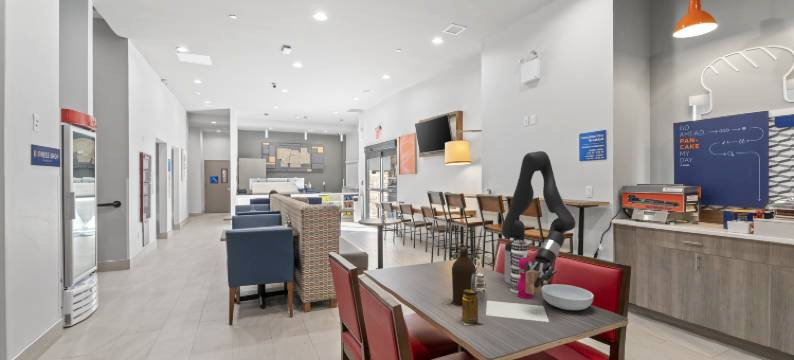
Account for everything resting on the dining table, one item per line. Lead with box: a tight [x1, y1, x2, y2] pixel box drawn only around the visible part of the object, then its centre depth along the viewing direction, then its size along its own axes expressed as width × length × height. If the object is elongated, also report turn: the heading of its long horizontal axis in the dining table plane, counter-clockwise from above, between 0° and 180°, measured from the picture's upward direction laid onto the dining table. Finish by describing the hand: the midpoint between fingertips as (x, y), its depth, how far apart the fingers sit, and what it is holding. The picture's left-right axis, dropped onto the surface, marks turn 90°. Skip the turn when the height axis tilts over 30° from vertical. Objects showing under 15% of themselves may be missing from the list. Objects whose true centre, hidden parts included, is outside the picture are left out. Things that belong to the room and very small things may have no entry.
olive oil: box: [451, 246, 477, 307], centre depth 162 cm, size 11×11×25 cm
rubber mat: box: [485, 300, 550, 323], centre depth 153 cm, size 18×24×1 cm
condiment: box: [460, 289, 483, 326], centre depth 142 cm, size 7×8×12 cm
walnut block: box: [526, 270, 542, 296], centre depth 151 cm, size 4×5×9 cm
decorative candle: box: [509, 239, 530, 294], centre depth 181 cm, size 9×9×25 cm
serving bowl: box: [541, 283, 595, 311], centre depth 160 cm, size 21×21×7 cm
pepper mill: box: [517, 255, 533, 300], centre depth 171 cm, size 7×7×20 cm
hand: (530, 285), depth 150 cm, fingers closed on walnut block, 4 cm apart
